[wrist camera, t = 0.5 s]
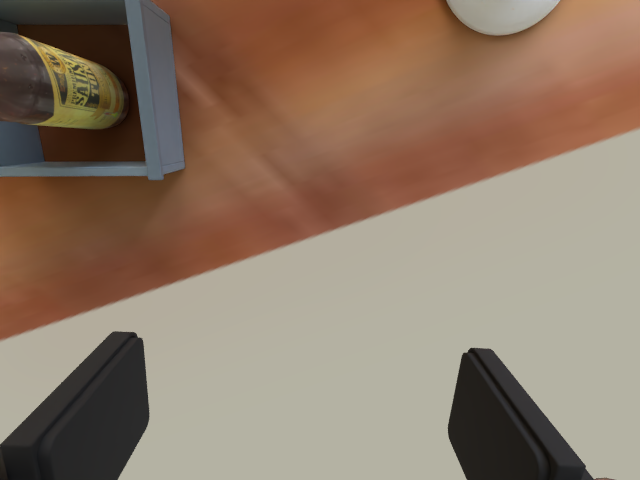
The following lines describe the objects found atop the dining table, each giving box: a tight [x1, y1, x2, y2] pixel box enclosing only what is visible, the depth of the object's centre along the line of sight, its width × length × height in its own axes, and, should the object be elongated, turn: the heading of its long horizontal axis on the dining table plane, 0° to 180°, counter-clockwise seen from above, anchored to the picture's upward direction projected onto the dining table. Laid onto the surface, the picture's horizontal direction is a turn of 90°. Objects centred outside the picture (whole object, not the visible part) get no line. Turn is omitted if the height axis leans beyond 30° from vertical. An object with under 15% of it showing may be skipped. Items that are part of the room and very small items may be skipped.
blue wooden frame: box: [0, 0, 185, 180], centre depth 34 cm, size 15×16×8 cm
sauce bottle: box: [0, 32, 129, 129], centre depth 28 cm, size 7×6×20 cm
